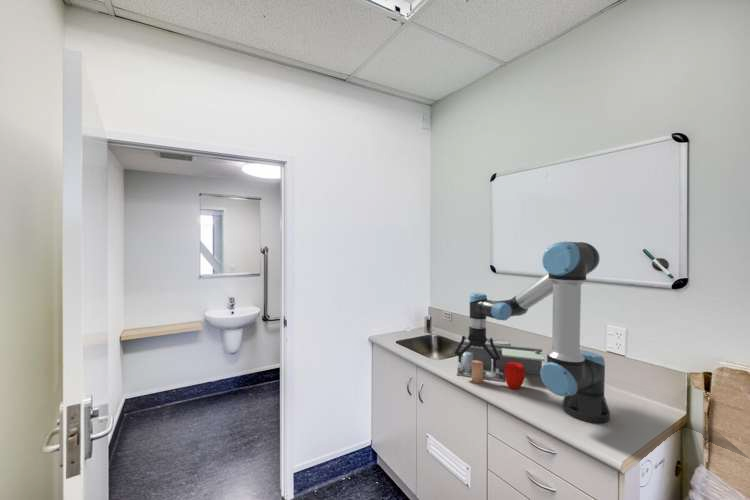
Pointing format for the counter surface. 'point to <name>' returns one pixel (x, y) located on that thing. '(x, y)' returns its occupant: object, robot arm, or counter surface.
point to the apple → (514, 374)
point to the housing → (484, 357)
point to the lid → (523, 354)
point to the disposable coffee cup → (501, 342)
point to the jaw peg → (477, 372)
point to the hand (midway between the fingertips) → (476, 371)
